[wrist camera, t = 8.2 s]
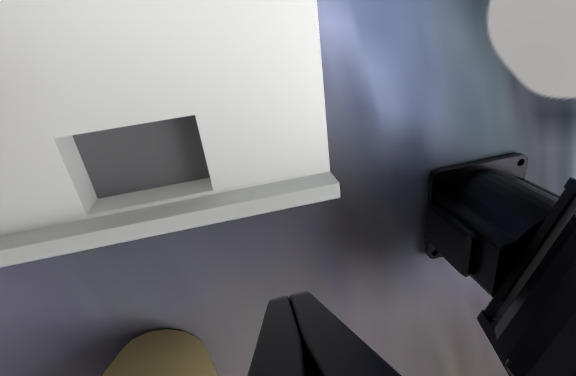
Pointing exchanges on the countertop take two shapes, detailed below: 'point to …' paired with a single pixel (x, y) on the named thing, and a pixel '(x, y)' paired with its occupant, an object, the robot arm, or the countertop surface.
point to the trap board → (154, 118)
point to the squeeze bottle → (163, 356)
